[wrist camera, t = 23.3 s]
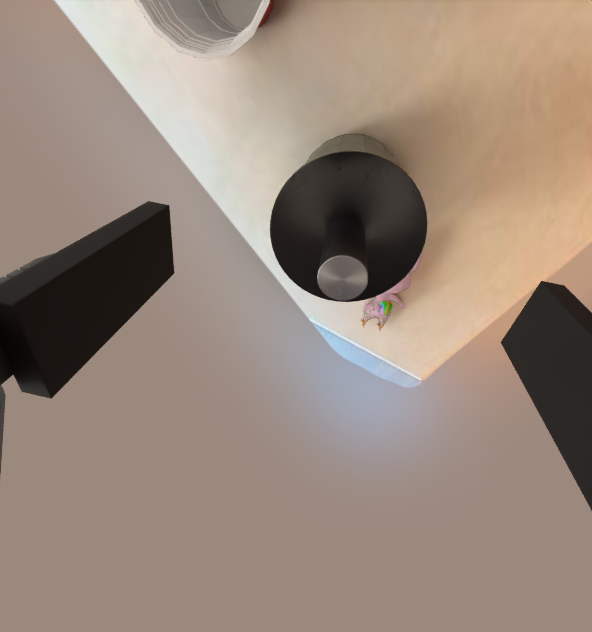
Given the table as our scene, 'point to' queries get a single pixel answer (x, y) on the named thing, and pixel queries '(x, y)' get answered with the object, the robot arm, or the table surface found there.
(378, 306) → the pink toy creature
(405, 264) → the lid
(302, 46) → the table surface
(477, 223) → the table surface
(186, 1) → the plastic cup
